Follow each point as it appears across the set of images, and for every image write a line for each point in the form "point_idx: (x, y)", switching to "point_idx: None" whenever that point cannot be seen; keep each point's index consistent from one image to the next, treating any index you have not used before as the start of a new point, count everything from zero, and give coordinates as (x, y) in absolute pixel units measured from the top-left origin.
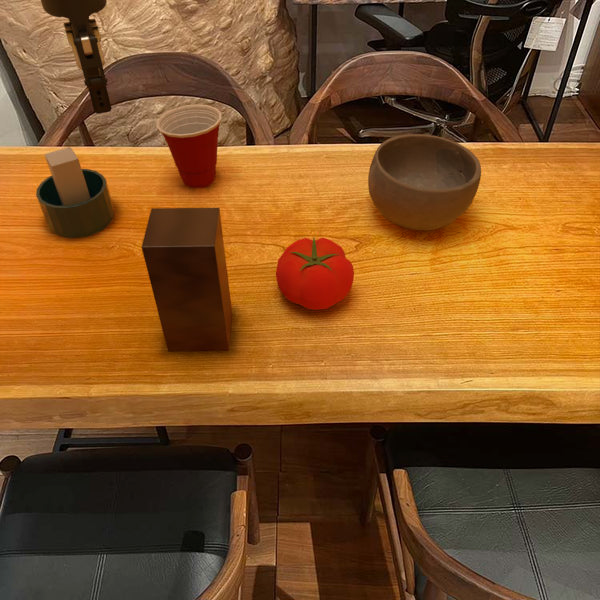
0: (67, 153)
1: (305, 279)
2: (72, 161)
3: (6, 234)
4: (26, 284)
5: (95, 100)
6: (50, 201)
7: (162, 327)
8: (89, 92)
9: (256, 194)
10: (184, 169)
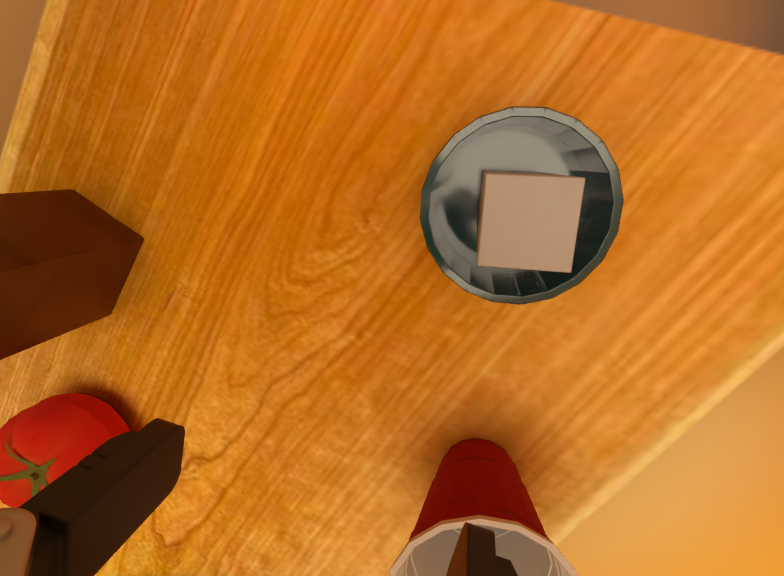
0: (533, 248)
1: (4, 436)
2: (479, 244)
3: (568, 7)
4: (350, 7)
5: (74, 468)
6: (579, 149)
7: (12, 193)
8: (73, 486)
9: (363, 516)
10: (453, 467)
